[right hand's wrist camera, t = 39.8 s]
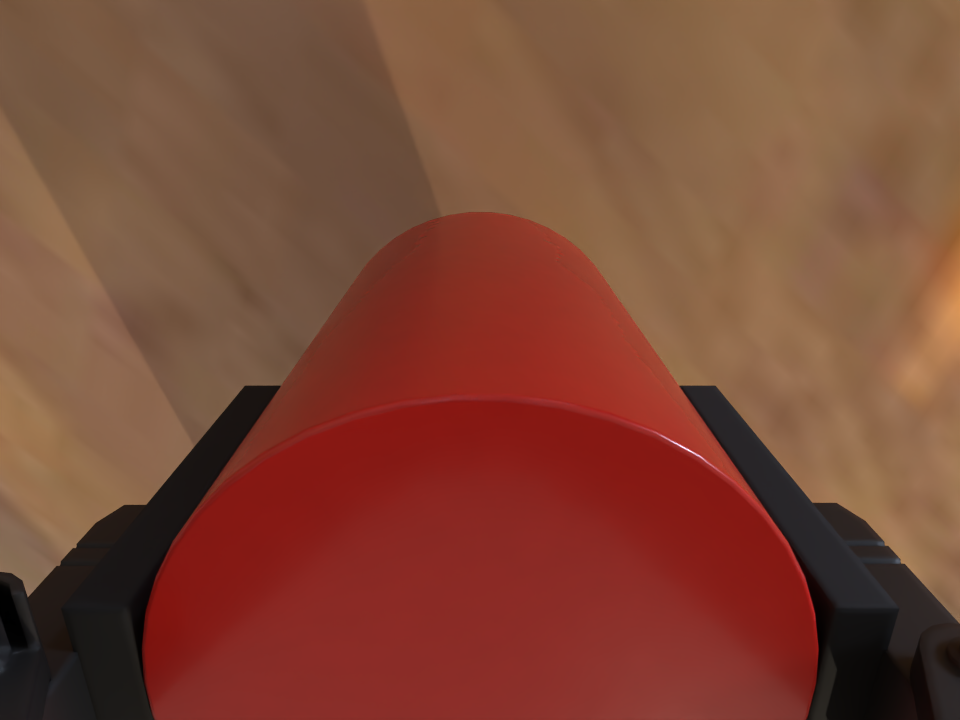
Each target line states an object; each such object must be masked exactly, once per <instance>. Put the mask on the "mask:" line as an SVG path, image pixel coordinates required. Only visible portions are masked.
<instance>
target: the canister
mask: <svg viewBox="0 0 960 720" xmlns="http://www.w3.org/2000/svg"><path fill="white" fill-rule="evenodd" d="M818 652H819V647H818V637H817V627H816V617H815V610H814V606H813V603H812V599H811V596H810V592H809V589H808V585H807V582H806V578H805V576H804V573H803V571H802V569H801V567H800V565H799V563H798V561H797V559H796V557H795V555H794V553H793V551H792V549H791V547H790V545H789V543H788V541H787V540H786V538H785V537H784V535H783V534H782V533H781V531H780V530H779V528H778V527H777V525H776V524H775V523H774V521H773V520H772V518H771V517H770V515H769V514H768V513H767V511H766V510H765V508H764V507H763V505H762V504H761V503H760V501H759V500H758V498H757V497H756V495H755V494H754V493H753V491H752V490H751V488H750V487H749V485H748V484H747V482H746V481H745V480H744V478H743V477H742V475H741V474H740V472H739V471H738V470H737V468H736V467H735V465H734V464H733V462H732V461H731V460H730V458H729V457H728V455H727V454H726V452H725V451H724V450H723V448H722V447H721V445H720V444H719V442H718V441H717V440H716V438H715V437H714V435H713V434H712V432H711V431H710V430H709V428H708V427H707V425H706V424H705V422H704V421H703V420H702V418H701V417H700V415H699V414H698V412H697V411H696V409H695V408H694V407H693V405H692V404H691V402H690V401H689V399H688V398H687V397H686V395H685V394H684V392H683V391H682V389H681V388H680V387H679V385H678V384H677V382H676V381H675V379H674V378H673V377H672V375H671V374H670V372H669V371H668V369H667V368H666V367H665V365H664V364H663V362H662V361H661V359H660V358H659V357H658V355H657V354H656V352H655V351H654V349H653V348H652V347H651V345H650V344H649V342H648V341H647V339H646V338H645V337H644V335H643V334H642V332H641V331H640V329H639V328H638V326H637V325H636V324H635V322H634V321H633V319H632V318H631V316H630V315H629V314H628V312H627V311H626V309H625V308H624V306H623V305H622V304H621V302H620V301H619V299H618V298H617V296H616V295H615V294H614V292H613V291H612V289H611V288H610V286H609V285H608V284H607V282H606V281H605V279H604V278H603V276H602V275H601V274H600V272H599V271H598V269H597V268H596V267H595V265H594V264H593V263H592V262H591V261H590V260H589V259H588V258H587V257H586V255H585V254H584V253H583V252H582V251H581V250H580V249H578V248H577V247H576V246H575V245H573V244H572V243H571V242H570V241H568V240H567V239H566V238H564V237H563V236H561V235H559V234H558V233H556V232H554V231H553V230H551V229H549V228H547V227H545V226H542V225H540V224H538V223H535V222H533V221H531V220H527V219H524V218H520V217H516V216H513V215H507V214H500V213H492V212H468V213H460V214H453V215H448V216H444V217H440V218H437V219H433V220H430V221H427V222H425V223H423V224H420V225H418V226H415V227H413V228H411V229H409V230H408V231H406V232H404V233H403V234H401V235H399V236H398V237H396V238H394V239H393V240H392V241H391V242H389V243H388V244H387V245H386V246H384V247H383V248H382V249H381V250H379V252H378V253H377V254H376V255H375V256H374V257H373V258H372V259H371V260H370V261H369V262H368V263H367V264H366V266H365V267H364V268H363V270H362V271H361V273H360V274H359V275H358V277H357V278H356V280H355V281H354V282H353V284H352V285H351V287H350V288H349V290H348V291H347V292H346V294H345V295H344V297H343V298H342V300H341V301H340V302H339V304H338V305H337V307H336V308H335V310H334V311H333V312H332V314H331V315H330V317H329V318H328V320H327V321H326V323H325V324H324V325H323V327H322V328H321V330H320V331H319V333H318V334H317V335H316V337H315V338H314V340H313V341H312V343H311V344H310V345H309V347H308V348H307V350H306V351H305V353H304V354H303V355H302V357H301V358H300V360H299V361H298V363H297V364H296V365H295V367H294V368H293V370H292V371H291V373H290V374H289V376H288V377H287V378H286V380H285V381H284V383H283V384H282V386H281V387H280V388H279V390H278V391H277V393H276V394H275V396H274V397H273V398H272V400H271V401H270V403H269V404H268V406H267V407H266V408H265V410H264V411H263V413H262V414H261V416H260V417H259V419H258V420H257V421H256V423H255V424H254V426H253V427H252V429H251V430H250V431H249V433H248V434H247V436H246V437H245V439H244V440H243V441H242V443H241V444H240V446H239V447H238V449H237V450H236V451H235V453H234V454H233V456H232V457H231V459H230V460H229V461H228V463H227V464H226V466H225V467H224V469H223V470H222V472H221V473H220V474H219V476H218V477H217V479H216V480H215V482H214V483H213V484H212V486H211V487H210V489H209V490H208V492H207V493H206V494H205V496H204V497H203V499H202V500H201V502H200V503H199V504H198V506H197V507H196V509H195V510H194V512H193V513H192V514H191V516H190V517H189V519H188V520H187V522H186V523H185V525H184V526H183V527H182V529H181V530H180V532H179V533H178V535H177V536H176V537H175V539H174V540H173V542H172V544H171V546H170V548H169V550H168V552H167V554H166V556H165V558H164V560H163V562H162V564H161V566H160V568H159V570H158V572H157V574H156V577H155V580H154V584H153V587H152V590H151V594H150V597H149V601H148V604H147V608H146V613H145V622H144V631H143V641H142V658H143V672H144V683H145V688H146V692H147V696H148V700H149V704H150V708H151V712H152V715H153V718H154V720H806V719H807V717H808V714H809V710H810V706H811V702H812V698H813V694H814V690H815V686H816V678H817V665H818Z"/></svg>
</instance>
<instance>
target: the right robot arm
mask: <svg viewBox="0 0 960 720" xmlns="http://www.w3.org/2000/svg"><path fill="white" fill-rule="evenodd" d="M280 387H281V386H244V388H243V389H242V390H241V391H240V392H239V394H238V395H237V396H236V397H235V399H234V400H233V401H232V402H231V403H230V405H229V406H228V407H227V408H226V409H225V411H224V412H223V413H222V414H221V415H220V417H219V418H218V419H217V420H216V421H215V423H214V424H213V425H212V426H211V428H210V429H209V430H208V431H207V432H206V434H205V435H204V436H203V437H202V438H201V440H200V441H199V442H198V443H197V444H196V446H195V447H194V448H193V449H192V450H191V452H190V453H189V454H188V455H187V457H186V458H185V459H184V460H183V461H182V463H181V464H180V465H179V466H178V467H177V469H176V470H175V471H174V472H173V473H172V475H171V476H170V477H169V478H168V479H167V481H166V482H165V483H164V484H163V486H162V487H161V488H160V489H159V490H158V492H157V493H156V494H155V495H154V496H153V498H152V499H151V500H150V501H149V502H148V504H147V505H124V506H122V507H121V508H119V509H117V510H116V511H114V512H113V513H111V514H109V515H108V516H106V517H105V518H103V519H101V520H100V521H98V522H97V523H95V525H94V526H93V527H92V528H91V529H90V530H89V531H88V532H87V533H86V534H85V536H84V537H83V538H82V539H81V540H80V541H79V542H78V543H77V547H76V548H73V549H72V550H71V551H70V552H69V553H68V554H67V555H66V556H65V557H64V559H63V560H62V561H61V565H60V566H56V567H55V568H54V570H53V571H52V572H51V573H50V574H49V575H48V576H47V577H46V578H45V579H44V581H43V582H42V583H41V584H40V585H39V586H38V587H37V588H36V589H35V590H34V591H33V593H32V594H31V595H30V596H29V597H27V594H26V591H25V588H24V584H23V581H22V580H21V579H19V578H18V577H16V576H15V575H13V574H12V573H5V572H0V720H154V718H153V715H152V712H151V708H150V704H149V700H148V696H147V692H146V688H145V683H144V672H143V658H142V641H143V631H144V622H145V613H146V608H147V604H148V601H149V597H150V594H151V590H152V587H153V584H154V580H155V577H156V574H157V572H158V570H159V568H160V566H161V564H162V562H163V560H164V558H165V556H166V554H167V552H168V550H169V548H170V546H171V544H172V542H173V540H174V539H175V537H176V536H177V535H178V533H179V532H180V530H181V529H182V527H183V526H184V525H185V523H186V522H187V520H188V519H189V517H190V516H191V514H192V513H193V512H194V510H195V509H196V507H197V506H198V504H199V503H200V502H201V500H202V499H203V497H204V496H205V494H206V493H207V492H208V490H209V489H210V487H211V486H212V484H213V483H214V482H215V480H216V479H217V477H218V476H219V474H220V473H221V472H222V470H223V469H224V467H225V466H226V464H227V463H228V461H229V460H230V459H231V457H232V456H233V454H234V453H235V451H236V450H237V449H238V447H239V446H240V444H241V443H242V441H243V440H244V439H245V437H246V436H247V434H248V433H249V431H250V430H251V429H252V427H253V426H254V424H255V423H256V421H257V420H258V419H259V417H260V416H261V414H262V413H263V411H264V410H265V408H266V407H267V406H268V404H269V403H270V401H271V400H272V398H273V397H274V396H275V394H276V393H277V391H278V390H279V388H280ZM679 387H680V388H681V389H682V391H683V392H684V394H685V395H686V397H687V398H688V399H689V401H690V402H691V404H692V405H693V407H694V408H695V409H696V411H697V412H698V414H699V415H700V417H701V418H702V420H703V421H704V422H705V424H706V425H707V427H708V428H709V430H710V431H711V432H712V434H713V435H714V437H715V438H716V440H717V441H718V442H719V444H720V445H721V447H722V448H723V450H724V451H725V452H726V454H727V455H728V457H729V458H730V460H731V461H732V462H733V464H734V465H735V467H736V468H737V470H738V471H739V472H740V474H741V475H742V477H743V478H744V480H745V481H746V482H747V484H748V485H749V487H750V488H751V490H752V491H753V493H754V494H755V495H756V497H757V498H758V500H759V501H760V503H761V504H762V505H763V507H764V508H765V510H766V511H767V513H768V514H769V515H770V517H771V518H772V520H773V521H774V523H775V524H776V525H777V527H778V528H779V530H780V531H781V533H782V534H783V535H784V537H785V538H786V540H787V541H788V543H789V545H790V547H791V549H792V551H793V553H794V555H795V557H796V559H797V561H798V563H799V565H800V567H801V569H802V571H803V573H804V576H805V578H806V582H807V585H808V589H809V592H810V596H811V599H812V603H813V606H814V610H815V617H816V627H817V637H818V647H819V652H818V665H817V678H816V686H815V690H814V694H813V698H812V702H811V706H810V710H809V714H808V717H807V719H806V720H960V624H959V623H958V622H957V620H956V619H955V618H954V617H953V616H952V615H951V614H950V613H949V612H948V611H947V610H946V608H945V607H944V606H943V605H942V604H941V603H940V602H939V601H938V600H937V599H936V598H935V597H934V595H933V594H932V593H931V592H930V591H929V590H928V589H927V588H926V587H925V586H924V585H923V583H922V582H921V581H920V580H919V579H918V578H917V577H916V576H915V575H914V574H913V573H912V571H911V570H910V569H909V568H908V567H907V566H906V565H905V564H901V562H900V558H899V557H898V556H897V555H896V554H895V553H894V552H893V551H892V550H891V549H890V548H889V546H885V545H884V541H883V540H882V539H881V538H880V537H879V536H878V534H877V533H876V532H875V531H874V530H873V529H872V528H871V527H870V526H869V525H868V524H867V522H866V521H864V520H863V519H861V518H860V517H858V516H856V515H855V514H853V513H852V512H850V511H848V510H847V509H845V508H844V507H842V506H841V505H839V504H837V503H812V502H811V501H810V499H809V498H808V497H807V496H806V495H805V493H804V492H803V491H802V490H801V489H800V487H799V486H798V485H797V484H796V483H795V481H794V480H793V479H792V478H791V477H790V475H789V474H788V473H787V472H786V470H785V469H784V468H783V467H782V466H781V464H780V463H779V462H778V461H777V460H776V458H775V457H774V456H773V455H772V454H771V452H770V451H769V450H768V449H767V448H766V446H765V445H764V444H763V443H762V441H761V440H760V439H759V438H758V437H757V435H756V434H755V433H754V432H753V431H752V429H751V428H750V427H749V426H748V425H747V423H746V422H745V421H744V420H743V419H742V417H741V416H740V415H739V414H738V412H737V411H736V410H735V409H734V408H733V406H732V405H731V404H730V403H729V402H728V400H727V399H726V398H725V397H724V396H723V394H722V393H721V392H720V391H719V390H718V388H717V387H716V386H679Z"/></svg>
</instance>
